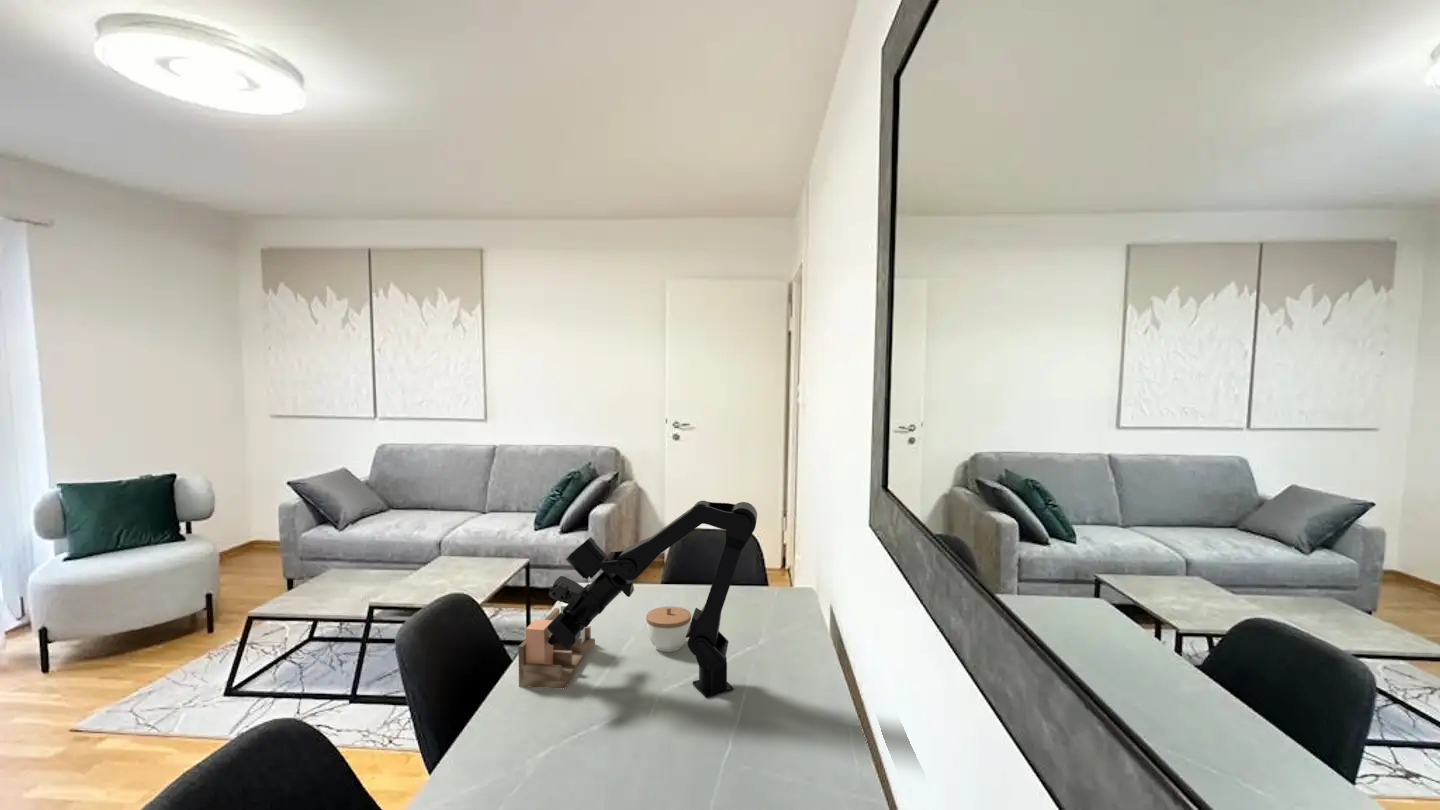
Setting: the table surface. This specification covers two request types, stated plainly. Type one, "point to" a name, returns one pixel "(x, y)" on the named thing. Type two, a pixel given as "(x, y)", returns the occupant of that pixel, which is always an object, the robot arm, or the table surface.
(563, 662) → the wooden desk organizer
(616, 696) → the table surface
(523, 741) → the table surface
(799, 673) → the table surface
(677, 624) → the lidded jar
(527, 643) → the light orange tall block
